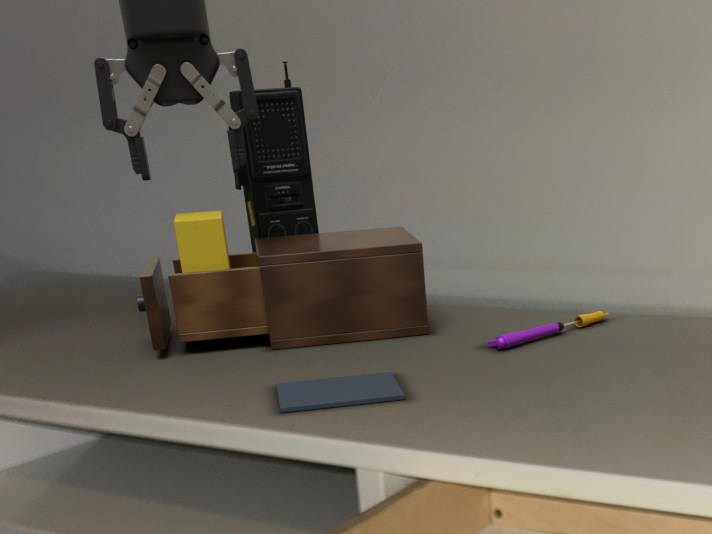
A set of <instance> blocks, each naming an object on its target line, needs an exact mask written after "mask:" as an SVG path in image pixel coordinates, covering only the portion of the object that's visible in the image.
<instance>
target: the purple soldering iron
mask: <svg viewBox="0 0 712 534" xmlns="http://www.w3.org/2000/svg"><path fill="white" fill-rule="evenodd" d="M606 316H607V317H608V316H610V311H609V312H603V311H602V310H598V311H594V312H590V313H583V314H578V315H576V316H575V317H574V320H573V321H571V322H567V323H563V322H561V321H557V322H551V323H548V324H544V325H540V326H536V327H533V328H529V329H526V330H525V329H524V330H522V331H513V332H508V333H504V334H501V335H497V336H495V339H494V340H490V341H487V347H488V348H492V347H497V350H504V349H507V348H512V347H514V346H519V345H521V343H525V342H529V341H532V340H536V339H540V338H543V337H547V336H551V335H555V334H558V333H559V332H562V331H564V329H565V327H569V326H573V325H575V327H576V328H583V327H586V326H589V325H591V324H594V323H598V322H601V321H603V320H604V319H605V317H606Z"/></svg>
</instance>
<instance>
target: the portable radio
mask: <svg viewBox="0 0 712 534" xmlns="http://www.w3.org/2000/svg"><path fill="white" fill-rule="evenodd" d="M281 63H282V64H283V69H284V78H285V79H284V80H283V85H284V87H275V88H258V89H257V88H256V89H254V91H255V96H256V101H257V106H258V112H259V116H258V118H257V119H256V120H253V121H251V122H249V123H247V124H245V125H244V127H243V129H242V135H243V142H244V148H245V155H246V163H245V165H244V166H240V171H241V173H233V175H234V176H233V177H234V185H235V186H234V188H235V189H236V190H238V191H243V196H244V204H245V211H246V218H247V225H248V231H249V238H250V244H251V245H250V246H251V252H257V251H256V244H255V239H256V238H268V237H280V236H292V235H304V234H316V233H320V231H319V223H318V222H319V221H318V215H317V207H316V200H315V199H316V197H315V190H314V184H313V175H312V167H311V158H310V149H309V142H308V132H307V131H308V130H307V124H306V123H307V122H306V116H305V108H304V107H305V106H304V99H303V91H302V87H300V86H292V80H291V79H290V78H289V70H288V63H289V61H281ZM228 93H229V94H228V95H229V105H230V108H231V109H232V110H233V111H234V112H235V113H236V112H238V111H240V110H242V109H244V104H243V99H242V94H241V90H232V91H229V92H228Z"/></svg>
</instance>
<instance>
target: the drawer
mask: <svg viewBox="0 0 712 534" xmlns="http://www.w3.org/2000/svg"><path fill="white" fill-rule="evenodd" d="M228 254H229V260H230V267H231V269H224V270H212V271H201V272H189V273H182V268H181V262H180V258H173V259H172V266H173V270H174V273H168V275H167V277H168V284H169V289H170V294H171V295H170V296H171V300H172V306H173V311H174V317H175V321H176V322H175V323H176V327H177V332H178V336H179V337H178V339H179V343H189V342H190V343H191V342H200V341H209V340H221V339H231V338H239V337H240V338H243V337H251V336H260V335H269V329H268V322H267V315H266V308H265V301H264V294H263V287H262V280H261V273H260V265H259V260H258V255H257V252H252V251H250V252H240V253H239V252H238V253H228ZM160 259H161V258H160V256H152V257H151V256H150V257H147V258H146V260H145V262H144V265H143V267H142V270H141V272H140V274H139V276H138V278H139V283H140V288H141V294H136V295H135V296H136V297H135V298H136V304H137V309H138V311H139V313H143V312H145V315H146V319H147V324H148V329H149V335H150V341H151V345H152V350H153V351H160V350H161V351H162V350H166V349H167V345H168V341H169V336H170V332H171V327H172V319H171V313H170V308H169V307H170V306H169V302H168V297H167V292H166V291H167V290H166V287H165V280H164V275H163V270H162V265H161V260H160Z"/></svg>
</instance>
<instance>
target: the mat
mask: <svg viewBox="0 0 712 534" xmlns="http://www.w3.org/2000/svg"><path fill="white" fill-rule="evenodd" d="M275 386H276V391H277V399H278V403H279V410H280V413H282V414H283V413H292V412H303V411H310V410H312V411H313V410H321V409H329V408H339V407H348V406H349V407H350V406H357V405H366V404H376V403H384V402H394V401H404V400H406V396H405V393H404V391H403V389H402V388H401V386H400V384H399V382H398V381H397V379H396V378H395V376H394V374H393V372H392V371H384V372H374V373H364V374H356V375H355V374H354V375H347V376H337V377H336V376H335V377H326V378H318V379H308V380H297V381H289V382H278V383H276V384H275Z"/></svg>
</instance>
